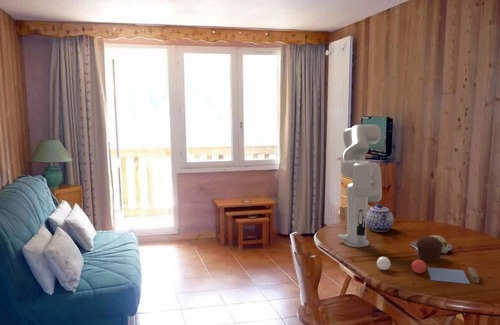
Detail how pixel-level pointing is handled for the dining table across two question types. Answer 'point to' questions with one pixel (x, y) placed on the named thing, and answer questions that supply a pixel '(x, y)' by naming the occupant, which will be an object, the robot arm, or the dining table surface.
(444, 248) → the seashell
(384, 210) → the teapot
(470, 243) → the dining table surface
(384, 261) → the cue ball
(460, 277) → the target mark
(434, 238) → the muffin
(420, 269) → the red ball
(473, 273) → the stopper wall
